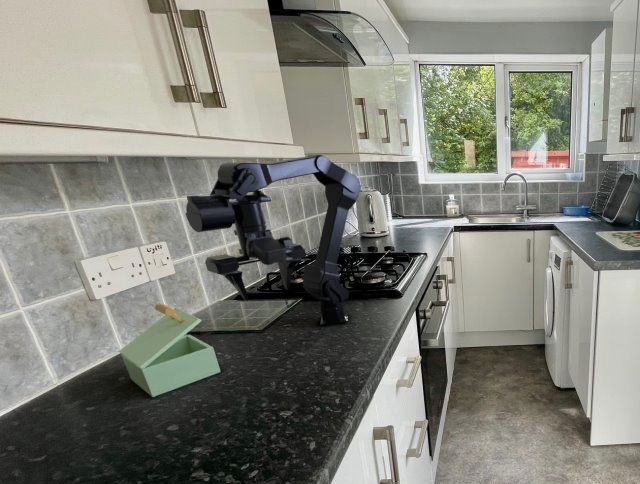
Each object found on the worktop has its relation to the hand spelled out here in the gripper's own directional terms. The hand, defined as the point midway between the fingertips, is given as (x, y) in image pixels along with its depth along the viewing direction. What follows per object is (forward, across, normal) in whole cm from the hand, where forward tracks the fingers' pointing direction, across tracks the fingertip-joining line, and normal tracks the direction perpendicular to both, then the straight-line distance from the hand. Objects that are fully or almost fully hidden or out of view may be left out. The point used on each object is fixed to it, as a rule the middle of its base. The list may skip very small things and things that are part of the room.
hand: (267, 294), depth 93 cm
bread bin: (+12, -20, +1) cm, 24 cm away
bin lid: (+3, -20, +1) cm, 21 cm away
